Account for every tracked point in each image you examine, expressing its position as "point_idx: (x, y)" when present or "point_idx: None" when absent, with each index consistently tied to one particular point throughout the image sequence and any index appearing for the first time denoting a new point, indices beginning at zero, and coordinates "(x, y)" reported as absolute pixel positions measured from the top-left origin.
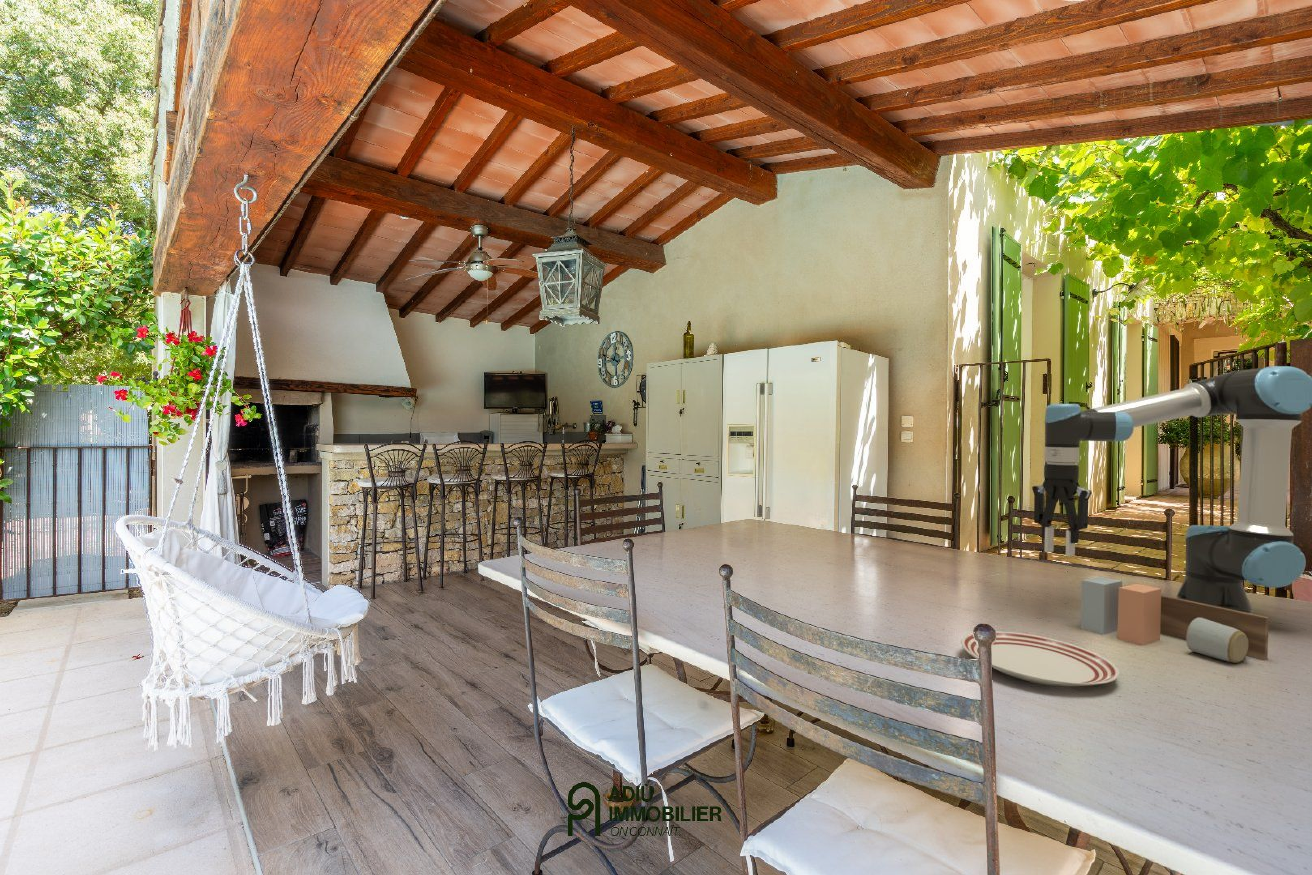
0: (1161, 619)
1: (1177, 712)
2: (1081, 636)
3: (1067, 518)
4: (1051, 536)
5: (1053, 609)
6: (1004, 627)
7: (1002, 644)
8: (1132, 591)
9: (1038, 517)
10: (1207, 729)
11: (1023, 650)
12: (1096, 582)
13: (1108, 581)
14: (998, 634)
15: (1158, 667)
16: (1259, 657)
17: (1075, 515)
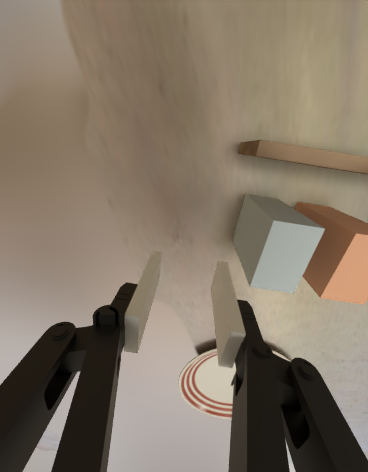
0: (351, 171)
1: (333, 385)
2: (242, 273)
3: (231, 442)
4: (149, 299)
5: (168, 165)
6: (169, 305)
7: (200, 365)
8: (343, 300)
9: (64, 392)
10: (348, 395)
11: (217, 361)
12: (278, 287)
13: (297, 259)
14: (192, 363)
15: (324, 313)
16: None
17: (277, 456)
